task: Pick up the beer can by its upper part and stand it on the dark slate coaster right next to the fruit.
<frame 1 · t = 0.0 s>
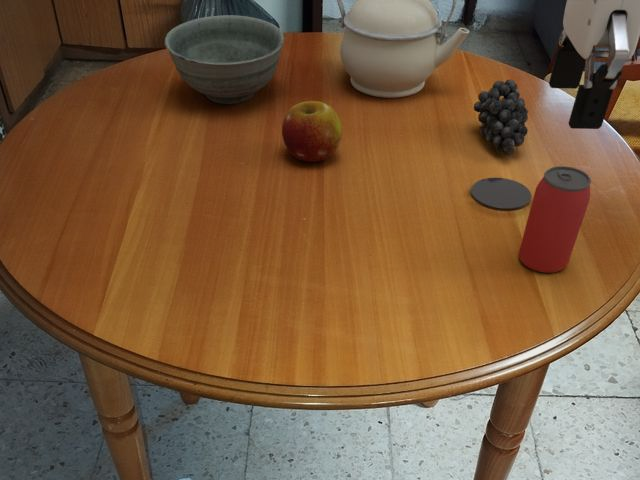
hand: (573, 106, 71), 22 cm above the table, tool pointing down, fingers open, 9 cm apart
beer can: (541, 261, 91), on the table
coaster: (500, 194, 102), on the table
fruit 2: (311, 156, 110), on the table
bowl: (229, 95, 125), on the table
fruit: (496, 143, 114), on the table
kettle: (395, 85, 129), on the table
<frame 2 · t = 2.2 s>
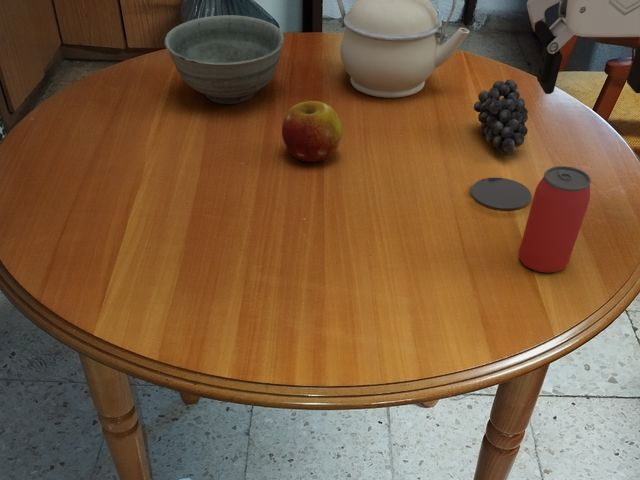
hand: (589, 88, 73), 23 cm above the table, tool pointing down, fingers open, 9 cm apart
nothing on the table moved.
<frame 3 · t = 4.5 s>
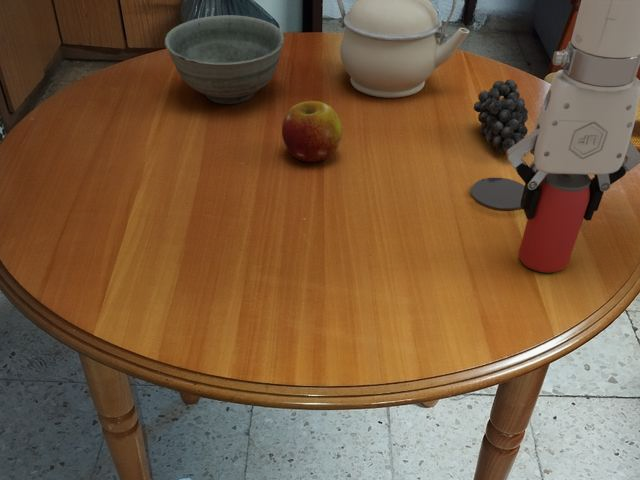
hand: (556, 213, 85), 7 cm above the table, tool pointing down, fingers closed on beer can, 6 cm apart
beer can: (541, 262, 91), on the table, touching gripper
everything else where it was.
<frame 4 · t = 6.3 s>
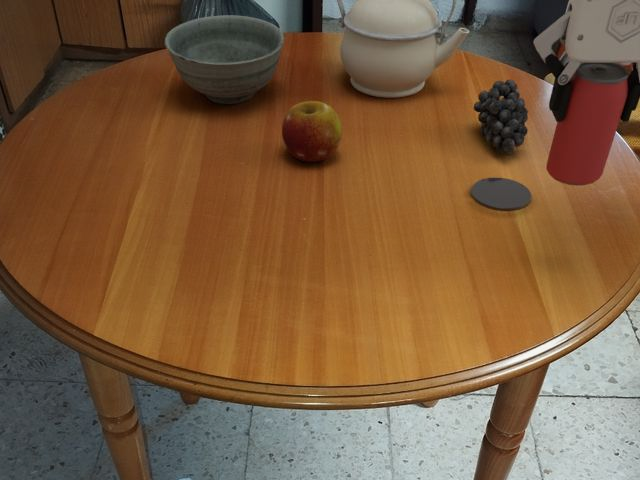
hand: (589, 115, 77), 19 cm above the table, tool pointing down, fingers closed on beer can, 6 cm apart
beer can: (572, 175, 82), point 12 cm above the table, touching gripper
everything else where it was.
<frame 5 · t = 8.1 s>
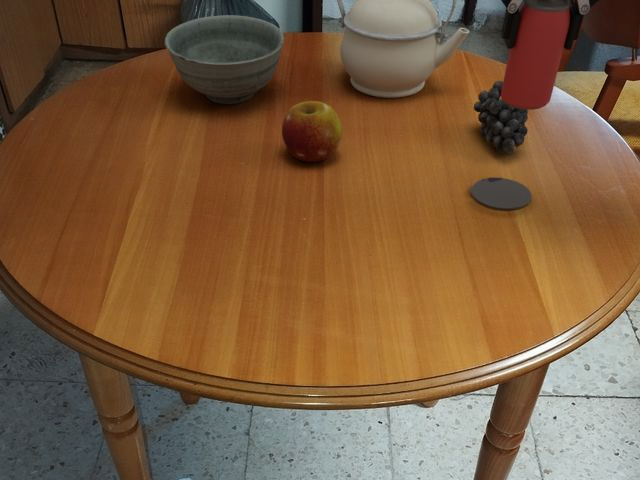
hand: (537, 44, 86), 21 cm above the table, tool pointing down, fingers closed on beer can, 6 cm apart
beer can: (523, 102, 91), point 14 cm above the table, touching gripper
everything else where it was.
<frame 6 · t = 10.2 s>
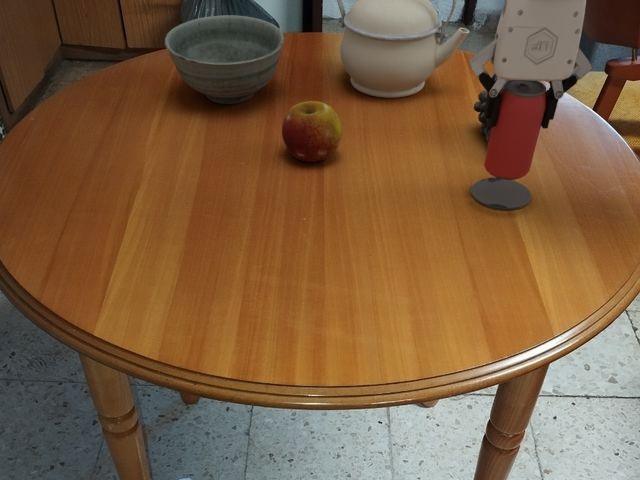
hand: (516, 122, 94), 11 cm above the table, tool pointing down, fingers closed on beer can, 6 cm apart
beer can: (505, 172, 99), point 4 cm above the table, touching gripper
everything else where it was.
when the fingers open (7 cm above the table, at t = 11.7 s): beer can stays where it is, resting on coaster.
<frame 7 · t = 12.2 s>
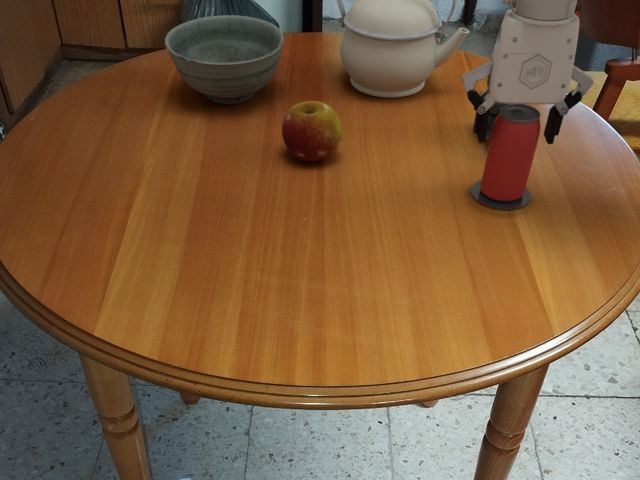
hand: (513, 139, 96), 9 cm above the table, tool pointing down, fingers open, 9 cm apart
beer can: (501, 193, 102), resting on coaster
everything else where it was.
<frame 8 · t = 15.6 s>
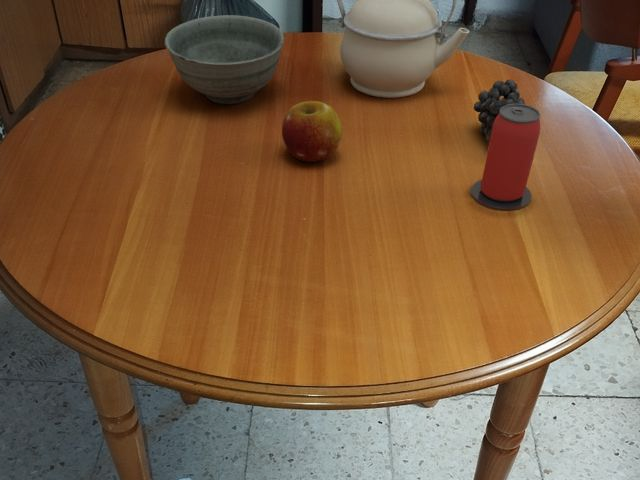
nothing on the table moved.
at the end: beer can 0.1 cm off-centre on the coaster, point 0.2 cm above the coaster's base; beer can 17.1 cm from the fruit (horizontally); beer can tilted 0° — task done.
